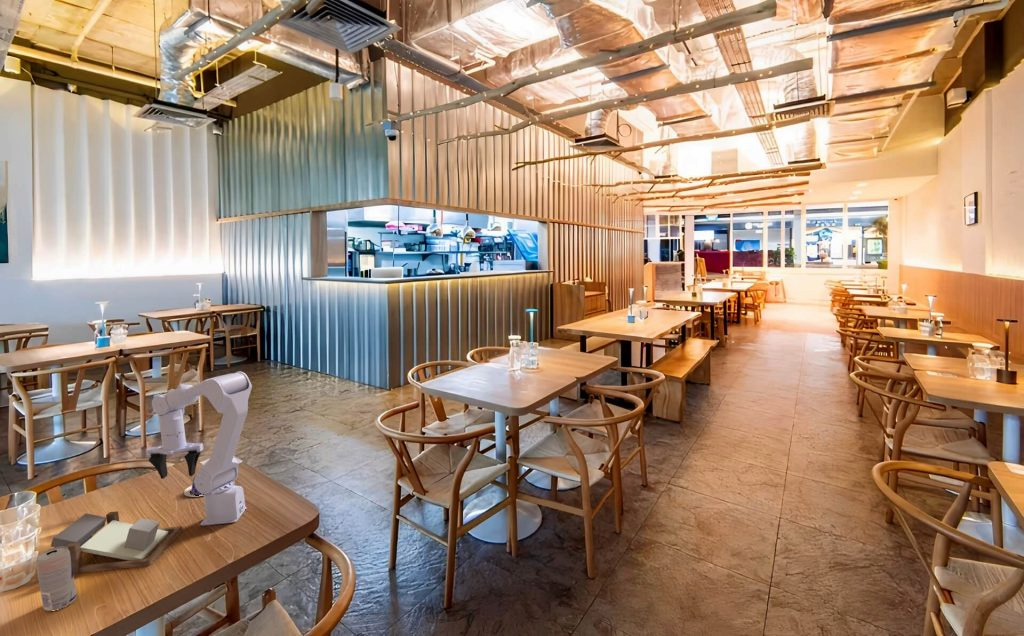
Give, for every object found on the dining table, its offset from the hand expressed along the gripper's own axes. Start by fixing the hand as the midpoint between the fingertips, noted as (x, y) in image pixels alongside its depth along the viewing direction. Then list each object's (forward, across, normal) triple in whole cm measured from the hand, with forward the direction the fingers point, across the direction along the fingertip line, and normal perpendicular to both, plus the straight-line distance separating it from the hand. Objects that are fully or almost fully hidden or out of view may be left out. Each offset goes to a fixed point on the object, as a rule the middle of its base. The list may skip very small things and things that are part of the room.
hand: (178, 475), depth 142 cm
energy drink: (+11, -6, -39) cm, 41 cm away
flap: (+8, -7, -20) cm, 23 cm away
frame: (+10, -6, -20) cm, 23 cm away
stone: (+8, 0, -21) cm, 23 cm away
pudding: (+11, +1, +12) cm, 17 cm away
